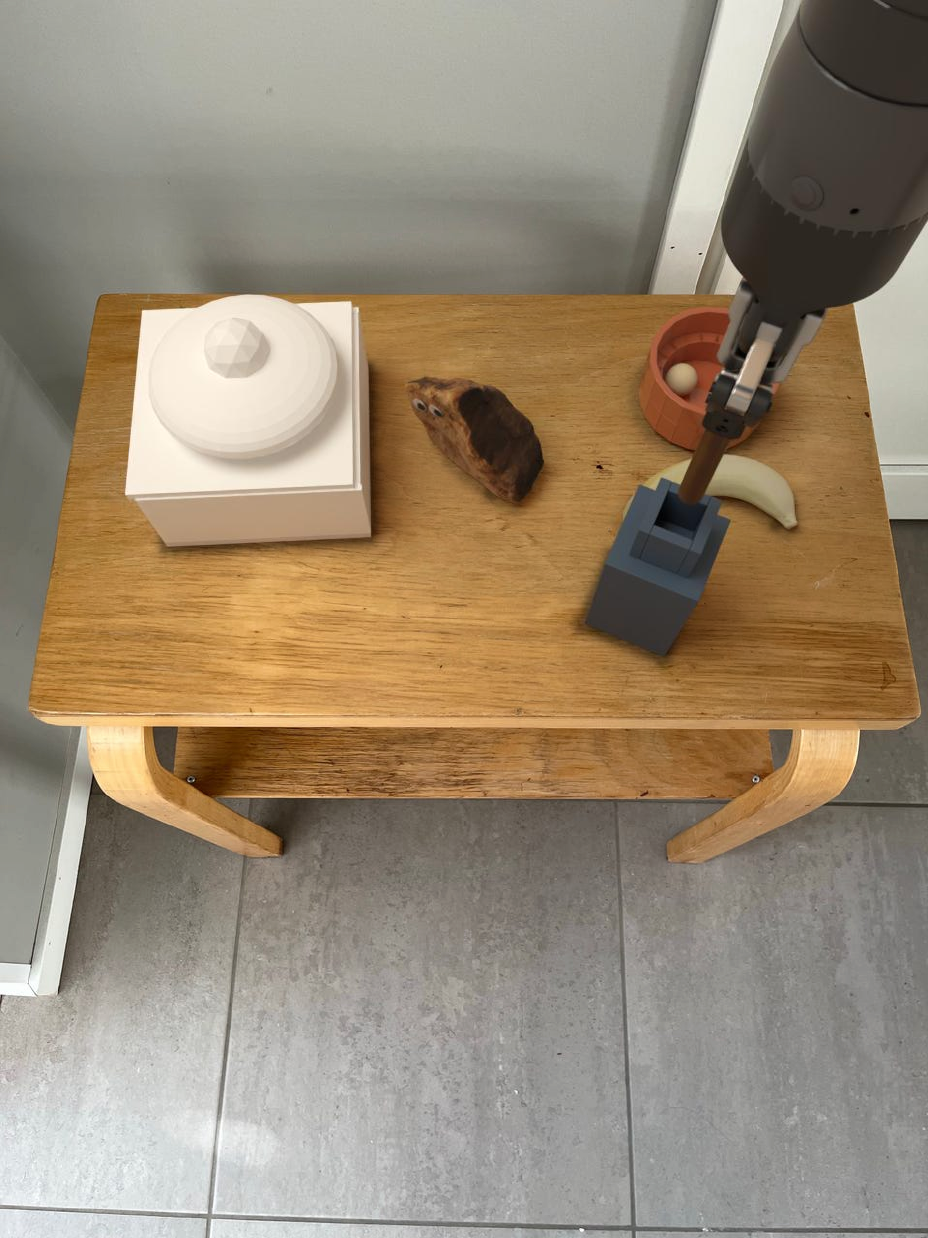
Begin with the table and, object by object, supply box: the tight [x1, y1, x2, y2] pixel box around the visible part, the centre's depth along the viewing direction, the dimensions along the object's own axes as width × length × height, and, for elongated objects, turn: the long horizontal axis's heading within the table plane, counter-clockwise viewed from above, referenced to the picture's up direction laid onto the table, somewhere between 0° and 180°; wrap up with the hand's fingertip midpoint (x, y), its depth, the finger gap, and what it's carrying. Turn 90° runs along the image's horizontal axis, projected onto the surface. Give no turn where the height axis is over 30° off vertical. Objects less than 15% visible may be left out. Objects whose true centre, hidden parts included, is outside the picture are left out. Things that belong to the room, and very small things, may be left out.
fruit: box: [622, 453, 798, 530], centre depth 78 cm, size 7×15×3 cm, turn 98°
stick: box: [678, 369, 761, 505], centre depth 52 cm, size 2×2×14 cm
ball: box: [665, 363, 698, 396], centre depth 82 cm, size 3×3×3 cm
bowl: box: [638, 306, 781, 451], centre depth 80 cm, size 11×11×6 cm
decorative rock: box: [404, 375, 545, 505], centre depth 76 cm, size 12×6×11 cm, turn 52°
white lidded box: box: [124, 294, 372, 548], centre depth 74 cm, size 18×18×16 cm
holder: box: [583, 477, 731, 657], centre depth 68 cm, size 7×7×16 cm
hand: (728, 412), depth 50 cm, fingers closed on stick, 1 cm apart
